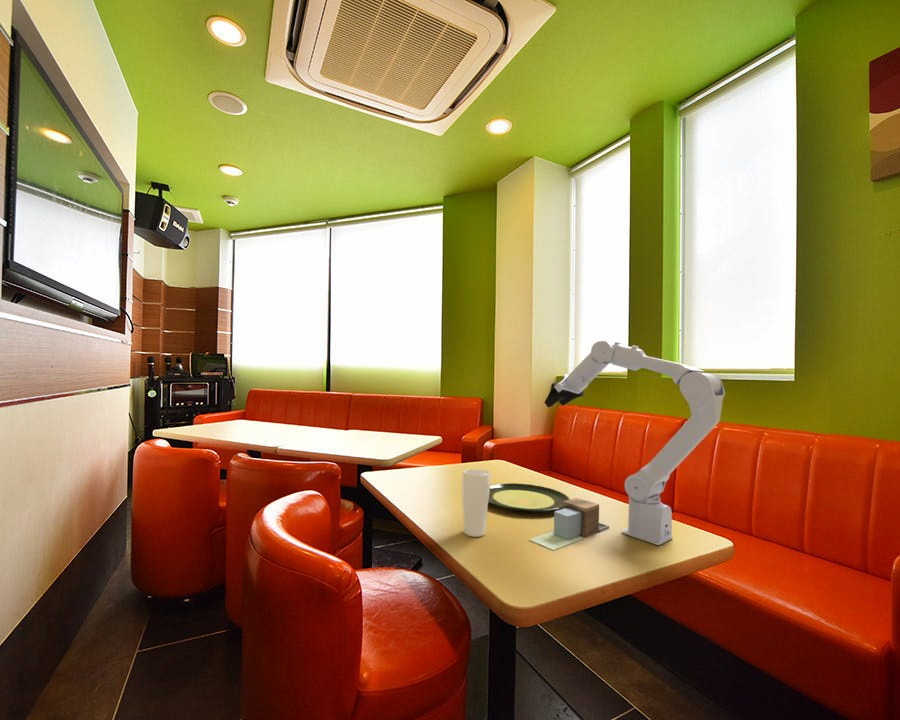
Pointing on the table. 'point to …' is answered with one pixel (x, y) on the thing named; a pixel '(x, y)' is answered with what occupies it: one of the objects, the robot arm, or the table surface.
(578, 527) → the pale grey rectangular block
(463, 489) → the drinking glass
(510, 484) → the plate
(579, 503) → the tunnel
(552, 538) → the pad
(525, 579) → the table surface
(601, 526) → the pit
